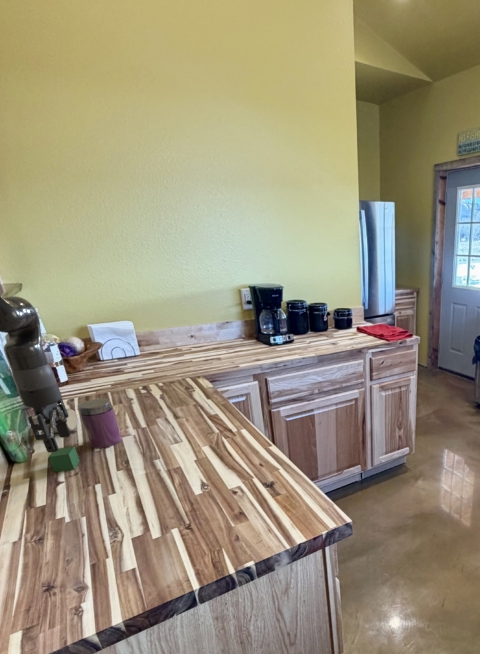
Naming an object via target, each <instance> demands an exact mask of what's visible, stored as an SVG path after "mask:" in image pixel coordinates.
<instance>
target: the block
mask: <svg viewBox="0 0 480 654" xmlns="http://www.w3.org/2000/svg"><path fill="white" fill-rule="evenodd" d="M58 448H59V447H58ZM47 457H48V460H49V463H50V466H51V469H52V472H53V473H58V472H67V471H73V470H75V469H76V467H77V466H78V465H79V463H80V458H79V456H78V453H77V449H76V447H75V446H67V447H60V448H59V449H58V451H56V452H50V454H49V455H48V456H47Z"/></svg>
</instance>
